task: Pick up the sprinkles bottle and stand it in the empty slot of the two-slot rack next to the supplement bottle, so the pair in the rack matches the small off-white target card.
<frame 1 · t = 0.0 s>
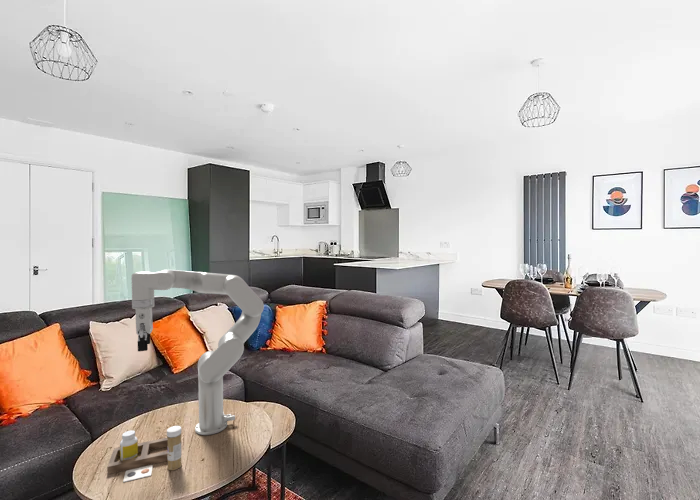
hand: (144, 347, 140), 37 cm above the table, tool pointing down, fingers open, 9 cm apart
target card: (138, 473, 121), on the table
supplement bottle: (129, 460, 128), resting in bottle rack
bottle rack: (145, 456, 130), on the table
sprinkles bottle: (174, 467, 124), on the table
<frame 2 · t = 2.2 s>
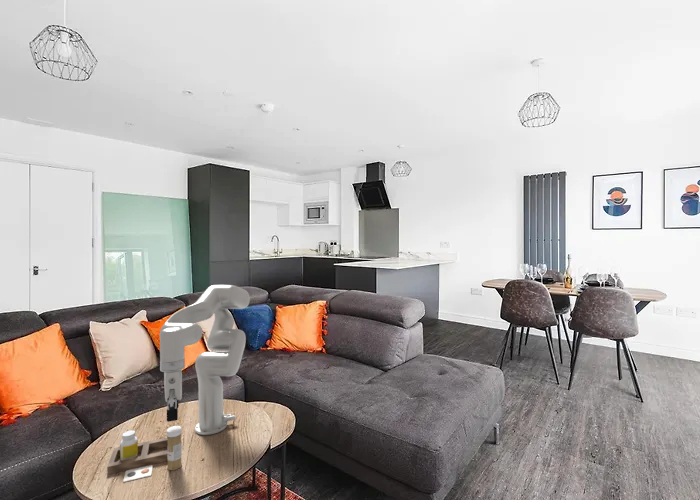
hand: (172, 414, 123), 19 cm above the table, tool pointing down, fingers open, 9 cm apart
nothing on the table moved.
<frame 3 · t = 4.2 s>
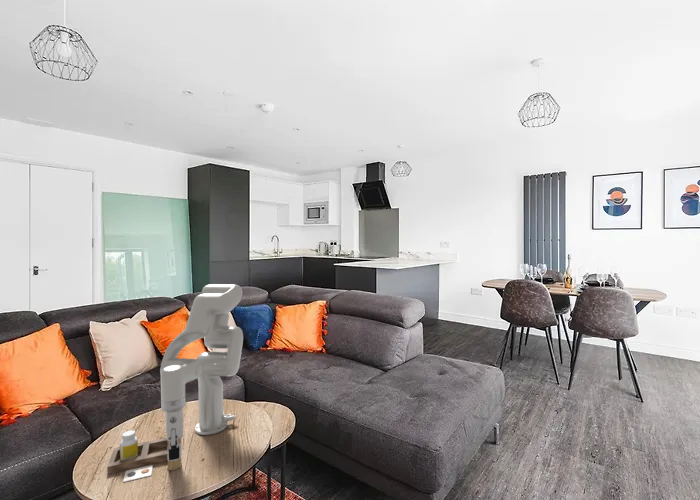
hand: (174, 454, 124), 4 cm above the table, tool pointing down, fingers closed on sprinkles bottle, 4 cm apart
sprinkles bottle: (174, 467, 124), on the table, touching gripper
everything else where it was.
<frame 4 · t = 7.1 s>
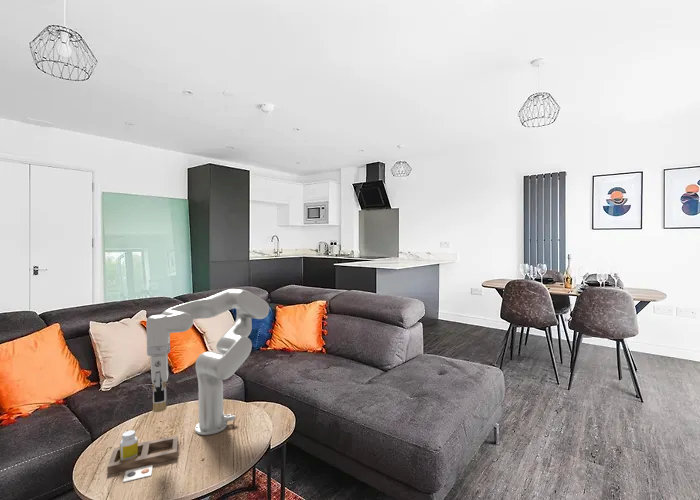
hand: (159, 398, 132), 21 cm above the table, tool pointing down, fingers closed on sprinkles bottle, 4 cm apart
sprinkles bottle: (159, 410, 132), point 16 cm above the table, touching gripper
everything else where it was.
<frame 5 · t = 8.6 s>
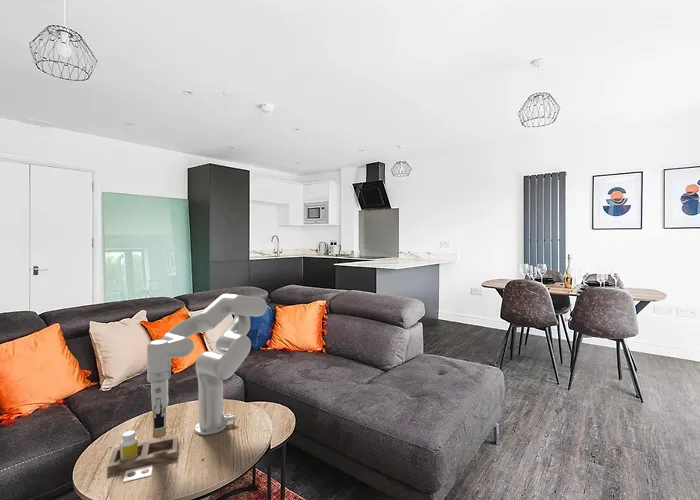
hand: (159, 423, 132), 11 cm above the table, tool pointing down, fingers closed on sprinkles bottle, 4 cm apart
sprinkles bottle: (159, 436, 132), point 7 cm above the table, touching gripper
everything else where it was.
when the fingers open (6 cm above the table, at t = 10.0 s): sprinkles bottle drops 1 cm, resting in bottle rack.
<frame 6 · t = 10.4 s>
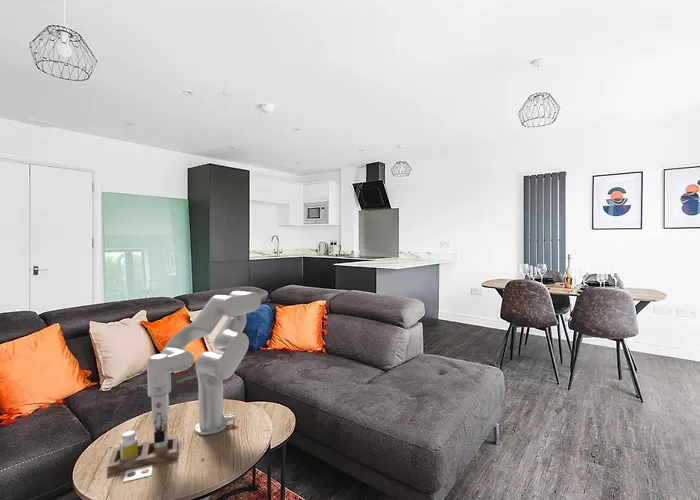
hand: (160, 435, 132), 7 cm above the table, tool pointing down, fingers open, 8 cm apart
sprinkles bottle: (161, 453, 132), resting in bottle rack
everything else where it was.
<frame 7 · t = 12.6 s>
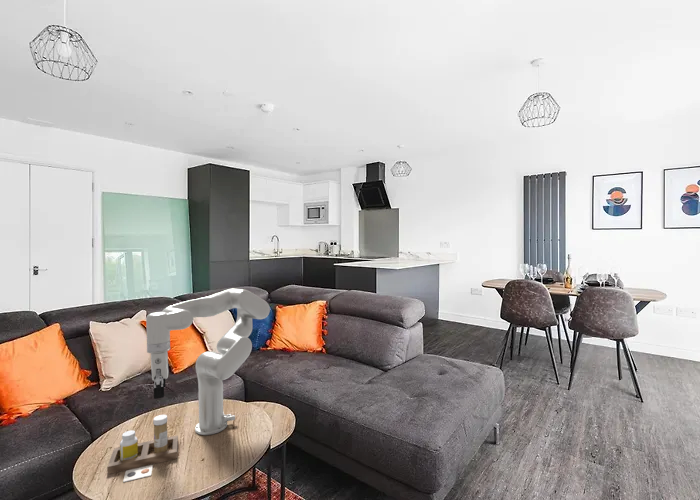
hand: (159, 392, 132), 22 cm above the table, tool pointing down, fingers open, 9 cm apart
nothing on the table moved.
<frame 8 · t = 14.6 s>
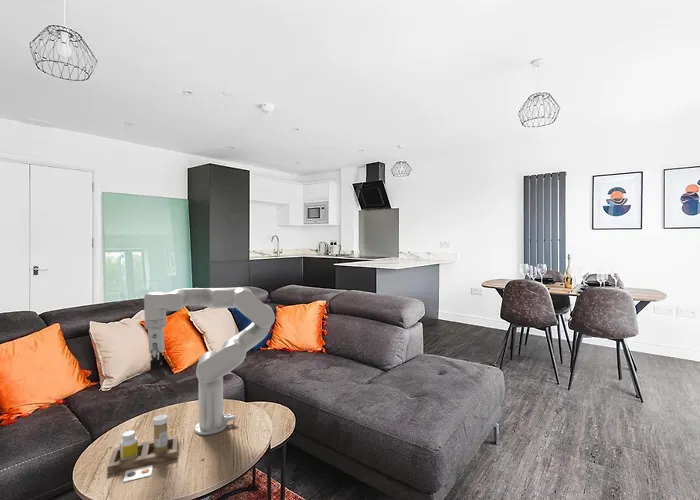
hand: (156, 365, 144), 28 cm above the table, tool pointing down, fingers open, 9 cm apart
nothing on the table moved.
at the end: sprinkles bottle 0.1 cm from the target spot on the bottle rack, point 0.0 cm above the bottle rack's base; sprinkles bottle tilted 0°; supplement bottle moved 0.2 cm from its start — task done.
